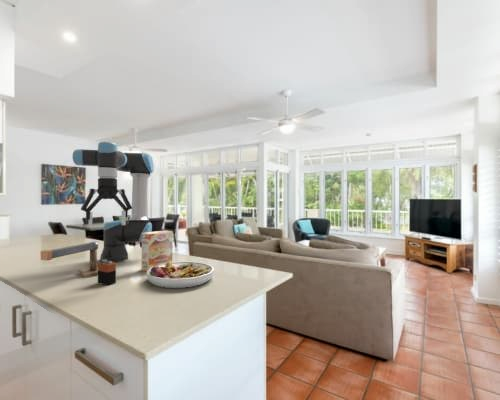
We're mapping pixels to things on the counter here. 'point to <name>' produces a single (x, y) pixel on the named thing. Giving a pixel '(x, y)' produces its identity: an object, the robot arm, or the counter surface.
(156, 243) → the coffeecake box
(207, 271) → the bowl
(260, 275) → the counter surface
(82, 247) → the swing arm
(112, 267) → the battery
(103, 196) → the robot arm
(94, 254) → the arm post
